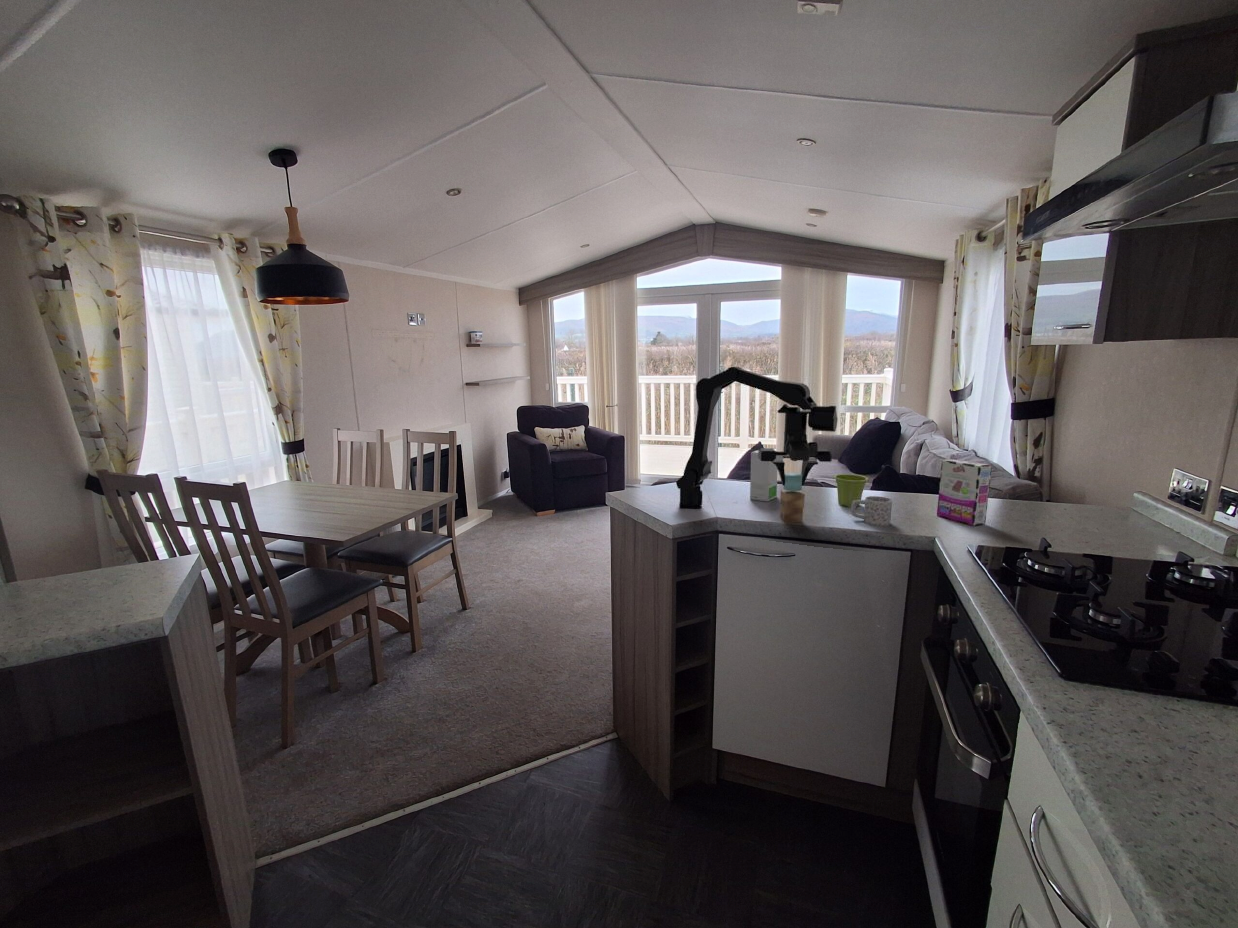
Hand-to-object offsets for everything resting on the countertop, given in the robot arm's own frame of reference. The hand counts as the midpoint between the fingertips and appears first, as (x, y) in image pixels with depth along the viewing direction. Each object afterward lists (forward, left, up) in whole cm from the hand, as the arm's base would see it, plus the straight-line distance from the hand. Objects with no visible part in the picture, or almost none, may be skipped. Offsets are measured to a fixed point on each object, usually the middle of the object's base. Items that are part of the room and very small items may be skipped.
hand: (792, 485), depth 148 cm
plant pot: (+21, +17, -10) cm, 29 cm away
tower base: (0, 0, -10) cm, 10 cm away
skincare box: (-4, +24, -10) cm, 26 cm away
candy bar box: (+46, +2, -10) cm, 47 cm away
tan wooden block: (0, 0, -6) cm, 6 cm away
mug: (+21, -1, -10) cm, 23 cm away
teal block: (0, 0, -1) cm, 1 cm away
